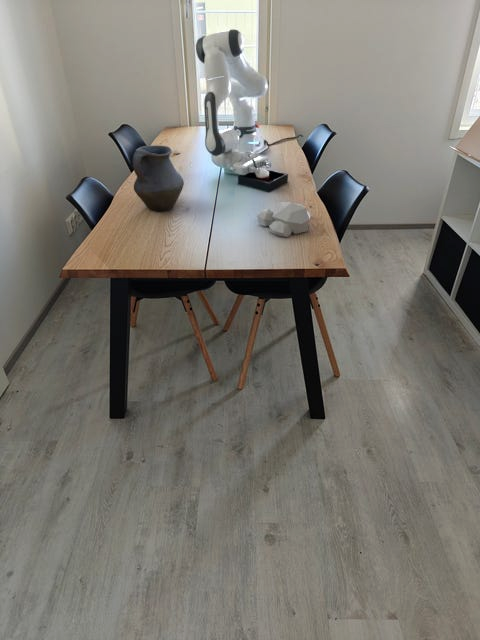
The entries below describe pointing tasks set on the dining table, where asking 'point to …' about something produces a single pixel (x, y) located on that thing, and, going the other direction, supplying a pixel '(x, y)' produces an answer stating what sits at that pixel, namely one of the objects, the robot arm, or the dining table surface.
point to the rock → (285, 219)
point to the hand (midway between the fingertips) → (264, 168)
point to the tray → (273, 182)
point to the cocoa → (262, 174)
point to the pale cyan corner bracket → (229, 171)
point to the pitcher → (156, 177)
